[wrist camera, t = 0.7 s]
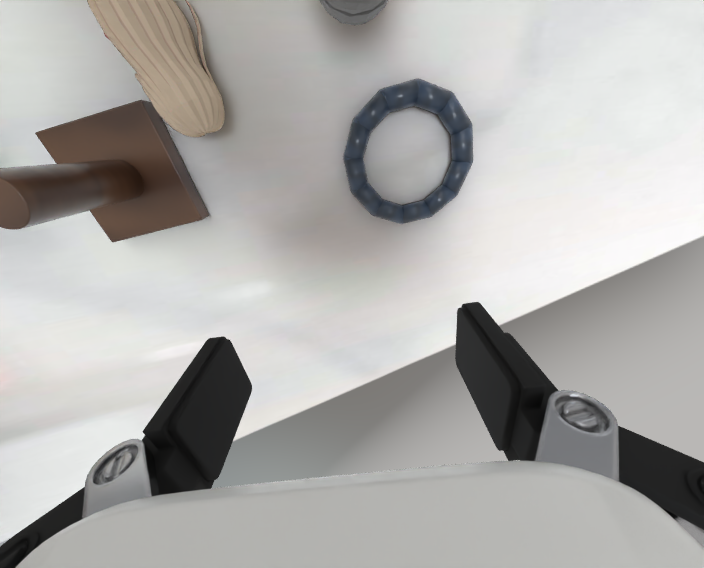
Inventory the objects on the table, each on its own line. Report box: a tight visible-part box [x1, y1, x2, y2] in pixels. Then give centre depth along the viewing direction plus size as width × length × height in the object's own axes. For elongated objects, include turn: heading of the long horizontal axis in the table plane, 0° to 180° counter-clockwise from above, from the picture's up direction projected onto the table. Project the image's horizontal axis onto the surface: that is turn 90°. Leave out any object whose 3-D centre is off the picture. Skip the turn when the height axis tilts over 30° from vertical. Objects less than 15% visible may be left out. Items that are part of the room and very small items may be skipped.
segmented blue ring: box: [344, 79, 473, 224], centre depth 22 cm, size 10×10×2 cm
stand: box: [0, 100, 209, 242], centre depth 18 cm, size 9×9×10 cm
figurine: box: [87, 0, 225, 137], centre depth 16 cm, size 6×4×15 cm
